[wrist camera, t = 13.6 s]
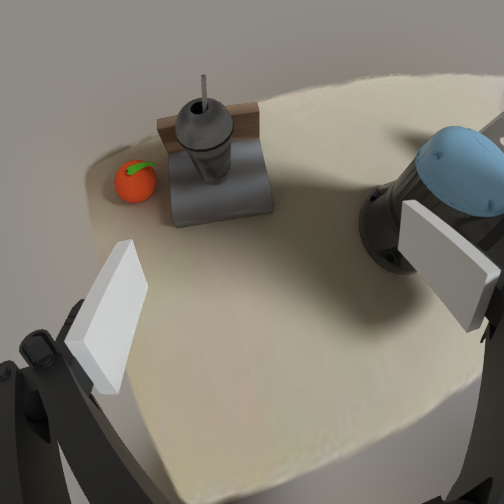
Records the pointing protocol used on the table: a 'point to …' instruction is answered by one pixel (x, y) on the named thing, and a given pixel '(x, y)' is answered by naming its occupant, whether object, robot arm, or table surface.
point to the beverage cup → (206, 136)
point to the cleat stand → (233, 189)
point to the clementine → (135, 181)
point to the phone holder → (495, 131)
